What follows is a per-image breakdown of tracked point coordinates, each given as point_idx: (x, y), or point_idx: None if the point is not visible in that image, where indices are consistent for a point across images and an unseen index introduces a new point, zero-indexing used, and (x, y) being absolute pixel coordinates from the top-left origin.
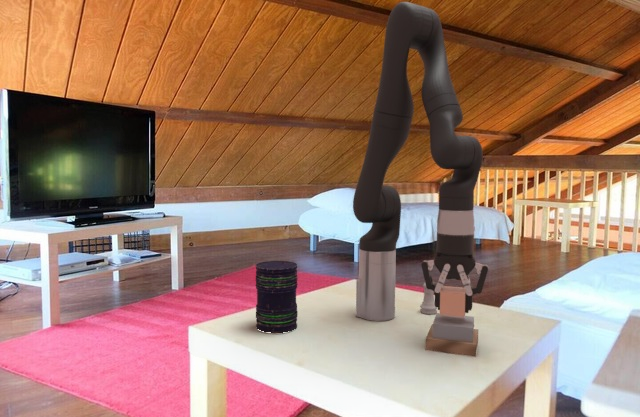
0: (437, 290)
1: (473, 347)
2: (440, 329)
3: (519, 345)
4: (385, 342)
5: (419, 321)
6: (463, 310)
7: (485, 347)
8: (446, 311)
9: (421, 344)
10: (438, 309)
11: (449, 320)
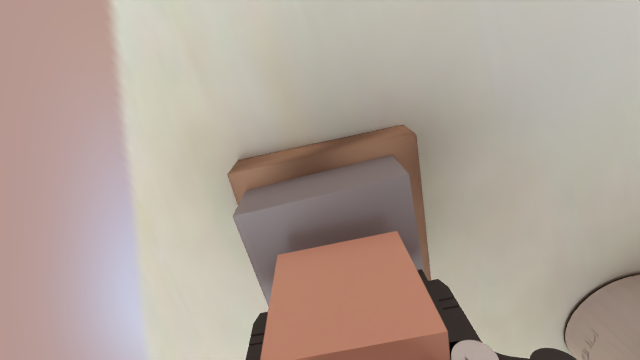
0: (473, 354)
1: (238, 169)
2: (369, 174)
3: (167, 311)
4: (552, 114)
5: None
6: (279, 275)
7: (241, 249)
8: (367, 250)
9: (427, 166)
10: (417, 270)
11: None
